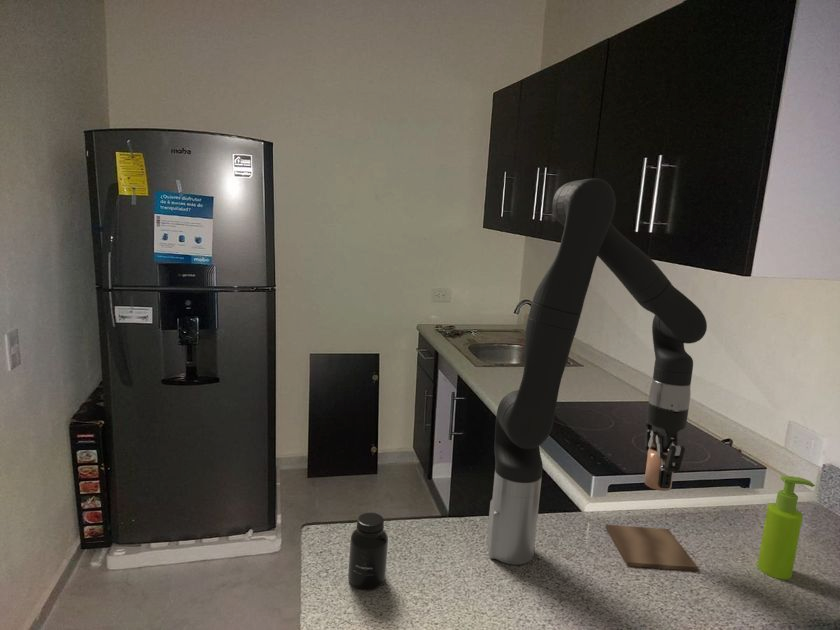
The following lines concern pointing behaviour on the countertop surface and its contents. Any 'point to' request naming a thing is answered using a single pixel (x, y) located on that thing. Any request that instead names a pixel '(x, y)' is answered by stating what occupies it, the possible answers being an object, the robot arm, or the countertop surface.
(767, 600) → the countertop surface
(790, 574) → the soap dispenser
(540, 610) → the countertop surface
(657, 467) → the spice jar
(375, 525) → the supplement bottle
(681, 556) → the mat
